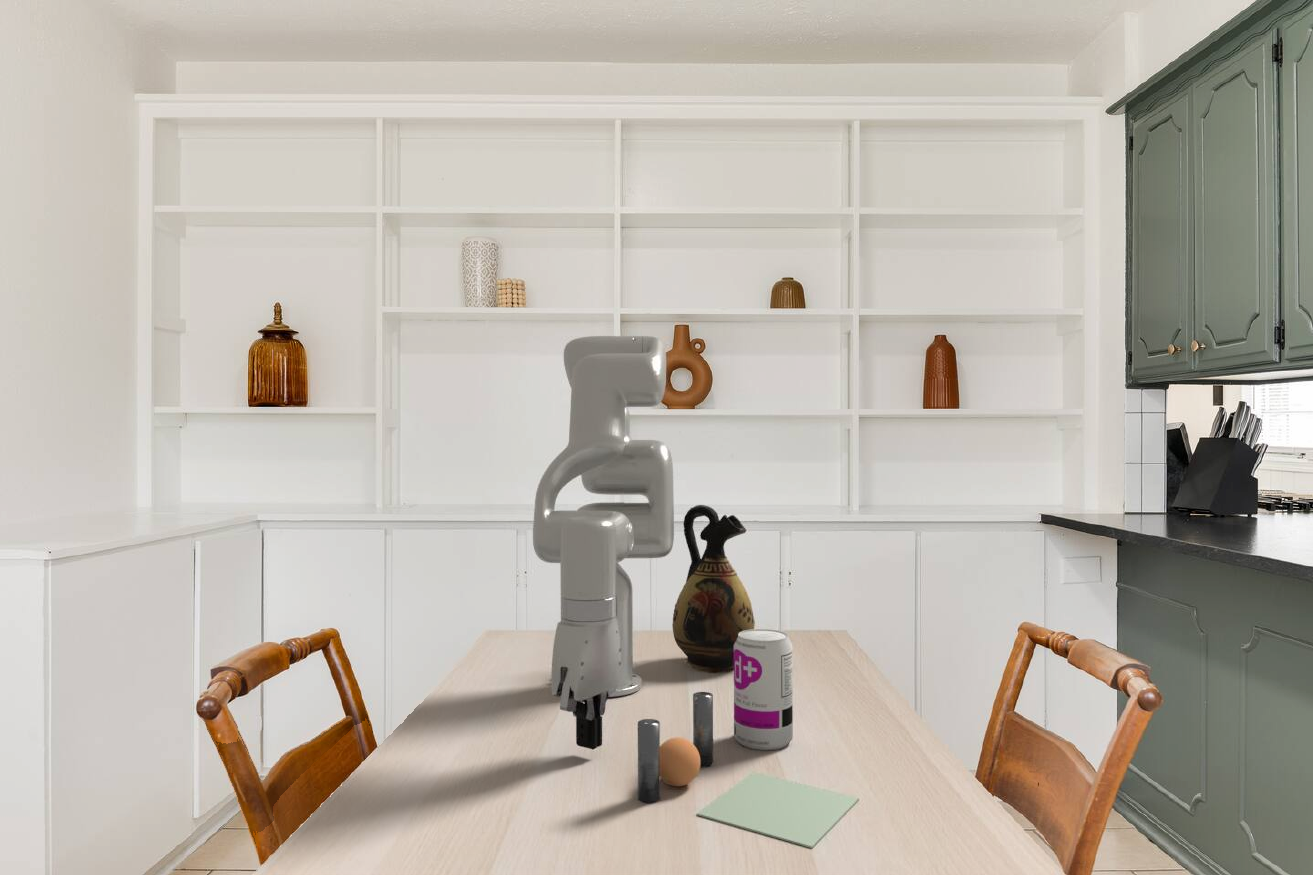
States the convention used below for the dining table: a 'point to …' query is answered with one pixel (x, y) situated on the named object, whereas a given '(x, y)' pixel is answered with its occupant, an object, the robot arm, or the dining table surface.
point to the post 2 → (703, 727)
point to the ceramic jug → (711, 597)
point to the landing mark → (780, 808)
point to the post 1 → (648, 760)
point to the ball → (678, 761)
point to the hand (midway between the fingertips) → (589, 745)
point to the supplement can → (763, 689)
